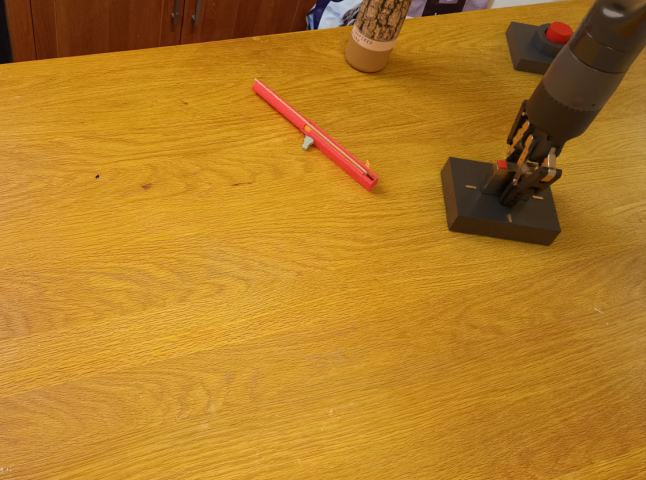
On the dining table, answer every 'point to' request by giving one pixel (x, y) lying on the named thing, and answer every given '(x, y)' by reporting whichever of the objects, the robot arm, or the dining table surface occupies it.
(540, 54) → the button box
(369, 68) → the paper tube
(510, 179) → the dial knob
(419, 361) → the dining table surface
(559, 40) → the button
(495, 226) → the panel
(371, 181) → the red grooved bar
